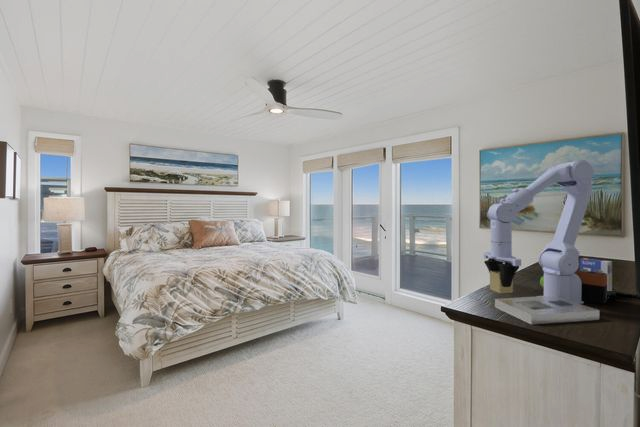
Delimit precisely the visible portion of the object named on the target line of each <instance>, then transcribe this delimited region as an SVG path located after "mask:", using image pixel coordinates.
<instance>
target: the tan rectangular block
mask: <svg viewBox="0 0 640 427" xmlns="http://www.w3.org/2000/svg"><path fill="white" fill-rule="evenodd" d="M489 290H491V291H492V292H495V293H499V294H507V293H514V279H513V280H512V284H511V287H503V284H502V275H501V271H500V270H496V271H490V273H489Z"/></svg>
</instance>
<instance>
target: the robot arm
mask: <svg viewBox="0 0 640 427" xmlns="http://www.w3.org/2000/svg"><path fill="white" fill-rule="evenodd" d="M595 171H596V170H595V169H594V168H593V166H592V165H591V163H590V162H589V161H587V160H585V159H578V160H574V161H568V162H560V163H555V164H554V165H552V166H551V167H549V168H547V169H546V171H545V172H544V173H543V174H541V175H540V176H538V177H537V179H535V180H534V181H533V182H531V183H530V184H529V185H527V187H525V188H524V187H519V188H514V189H512V190H511V193H510V194H509V195H507V196H506V197H504V198H501V199H500V200H499V203H494V204H491V205H490V206H489V208H488V211H486V217H487V218H488V220H489V222H490V224H489V225H490V251H484V252H483V259H487V260H484V264H485V266H486V268H487V270H488V274H490V271H496V270H500V271H501V275H502V284H503V287H511V284H512V280H513V281H514V277H515V275H516V273H517V271H518V270H519V269H520V267H521V266H522V259H520V258H517V257H515V256H513V254H512V253H513V252H512V250H513V248H512V246H513V245H512V244H513V242H512V238H513V237H512V233H513V232H512V227H513V223H512V221H514V220H515V219H516V217H517V214H518V213H519V212H520V211H522V210H524V209H525V208H526V207H528V206H530V204H532V203H533V201H534V197H535V196H536V195H538V194H540V193H541V192H543V191H545V189H547V188H550V187H551V186H552V185H554V184H555V183H556V184H557V186H559V187H561V188H562V189H563V190H564V191H565V192H566V193H567V196H566V200H565V203H564V206H563V209H562V211H561V215H560V218H559V221H558V224H557V227H556V230H555V233H554V236H553V238H552V240H551V241H550V242H549V243H547V244H545V246H544V249H543V250H542V251H541V252H540V253H539V255H538V261H537V262H538V264H539V266H541V268H542V271H543V276H544V288H543V296H554V295H555V296H558V297H561V298H564V299H567V300H570V301H573V302H576V303H579V304H584V303H585V301H581V293H582V283H581V279H580V278H579V276H578V275H577V272H578V269H579V268H580V260H579V257H580V251H579V250H578V249H577V248H576V246H575V244H576V240H577V239H578V235H579V232H580V230H581V226H582V223H583V219H584V216H585V215H586V212H587V208H588V204H589V203H590V202H589V201H590V199H591V197H592V193H593V185H592V184H593V182H592V180H593V177H594V175H595Z"/></svg>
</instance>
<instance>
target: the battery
mask: <svg viewBox="0 0 640 427" xmlns="http://www.w3.org/2000/svg"><path fill="white" fill-rule="evenodd" d="M594 271H595V272H592V271H588V269H581V270H580V269H579V270H577V271H576V275H578V276H579V278H580V279H581V283H582V293H581V301H583V302H584V303H585V302H586V303H592V304H598V305H605V304H606V303H607V301H608V298H607V274H606V273H601V272H603V271H602V270H594Z"/></svg>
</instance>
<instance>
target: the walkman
mask: <svg viewBox="0 0 640 427" xmlns="http://www.w3.org/2000/svg"><path fill="white" fill-rule="evenodd" d="M581 269H588V271H592V272H595V271H594V270H602V271H603V272H601V273H606V274H607V291H613V261H612V260H604V259H603V260H602V259H595V258H594V259H593V258H585V257H583V258H579V271H580V270H581Z"/></svg>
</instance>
